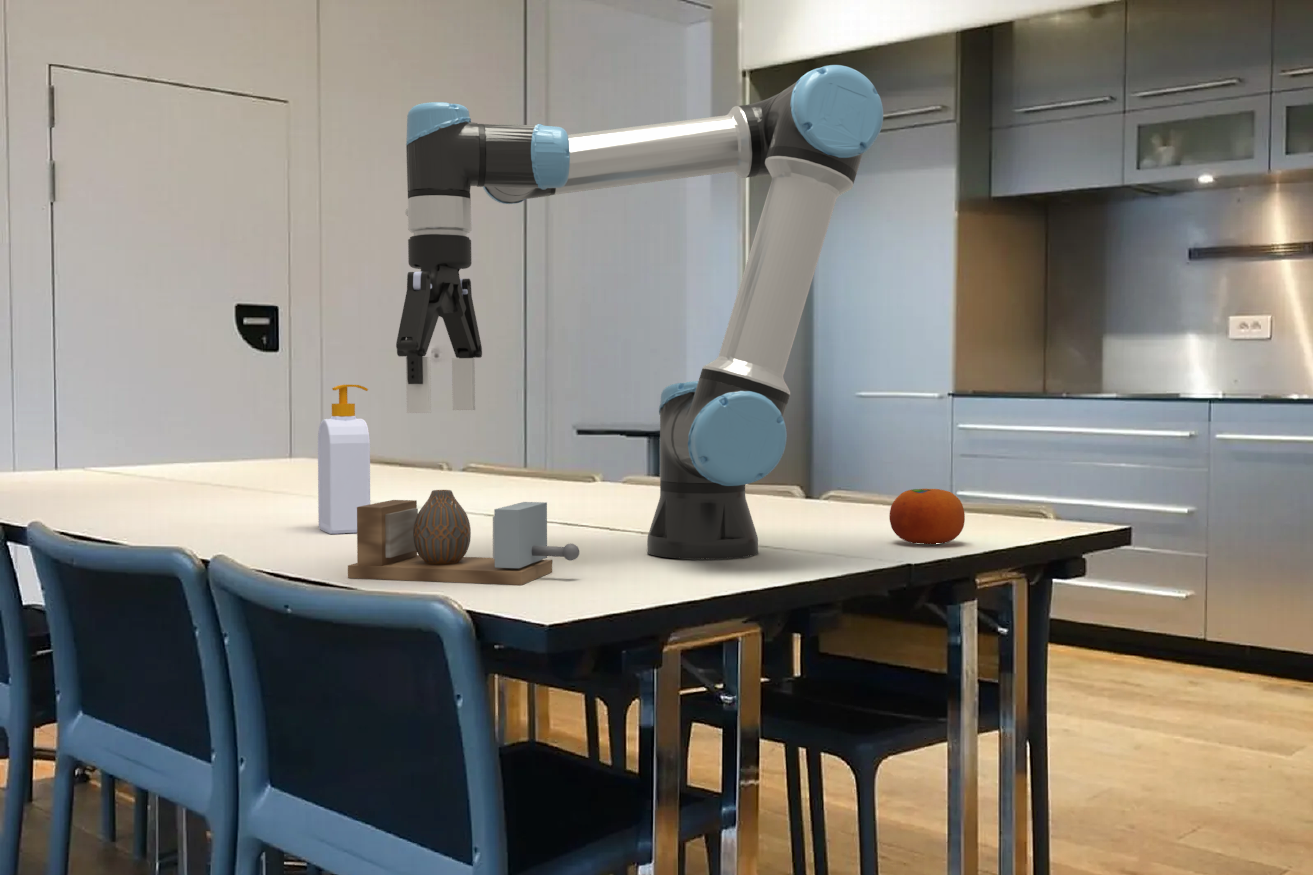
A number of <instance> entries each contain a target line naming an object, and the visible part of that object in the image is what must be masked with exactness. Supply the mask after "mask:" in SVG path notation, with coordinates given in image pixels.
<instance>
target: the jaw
mask: <svg viewBox="0 0 1313 875" xmlns="http://www.w3.org/2000/svg"><path fill="white" fill-rule="evenodd" d="M493 512H494V515H492V558H493V559H495V568H521V567H524V566H526V565H529V564H532V563H534V562H537V561H539V560H546V558H548V557H554V558H555V557H557V558H560V557H561V558H564V559H566V560H567V561H575V560H577V559H578V557H579V555H580V549H579V547H578V545H577V544H575V543H568V544H566V545H564V546H557V545H555V546H554V545H553V546H552V545H548V502H547V501H546V502H543V501H542V502H541V501H538V502H537V501H522V502H518V503H514V504H510V505H507V506H502V507H499V508H494V510H493Z"/></svg>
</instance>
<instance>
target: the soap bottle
mask: <svg viewBox="0 0 1313 875" xmlns="http://www.w3.org/2000/svg"><path fill="white" fill-rule="evenodd" d="M348 388H358V389H360V390H364V391H365V392H368V390H369V388H367V387H365V386H362V385H360V384H339V385H336V386H334V387H332V388H331V389H332V391H338V403H331V416H330V418H325V419H322V420H321V421H320V423H319V427H318V434H317V435H318V436H317V480H318V481H317V482H318V483H317V484H318V485H317V486H318V488H317V489H318V490H317V494H318V501H317V502H318V503H317V504H318V506H317V507H318V529H319V530H320V529H321V531H323V532H325V533H327V534H329V535H345V533H350V534H357V507H359V506H364V505H370V504H371V440H370V439H371V438H370V433H369V432H370V431H369V426H368V424H367V421H366V420H364V418H357V416H356V403H348Z"/></svg>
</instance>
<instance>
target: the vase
mask: <svg viewBox="0 0 1313 875" xmlns="http://www.w3.org/2000/svg"><path fill="white" fill-rule="evenodd" d="M471 534H472V532H471V522H470V520H469V517H468V514H467V513H466V510H464V508H463V507H462V505H461V504H460V503H459V502H458V500H457V498H456V497H455V496H454V493H453V491H452V490H451V489H434V490H433V489H432V490H431V492H430V494H429V496H428V499H427V500H426V502H425V503H424V505H422V507H421V508H420V510H418V514H417V517H416V519H415V523H414V528H413V538H414V544H415V548H416V551H417V555H419V556H420V557H421V558H422V559H423V560H424V561H425V562H426V563H429V564H453V563H457V562H459V561H460V560H461V559H462V558H463V557H465V556H466V554H467V553H468V550H469V548H470V544H471V538H472V537H471V536H472V535H471Z"/></svg>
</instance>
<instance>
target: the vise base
mask: <svg viewBox="0 0 1313 875" xmlns="http://www.w3.org/2000/svg"><path fill="white" fill-rule="evenodd" d="M417 502H418V501H417V499H416V500H415V499H414V500H413V499H411V500H408V499H406V500H405V499H391V500H386V501H381V502H375V503H370V505H364V506H359V507H357V533H356V537H357V538H356V539H357V540H356V545H357V546H356V548H357V550H356V553H357V556H356V559H357V562H355V563H352V564H349V565H347V579H360V580H361V579H362V580H363V579H364V580H391V581H415V582H437V583H463V584H486V585H488V584H490V585H491V584H492V585H509V586H510V585H512V586H513V585H514V586H516V585H517V586H523V585H525V584H527V583H528V584H529V583H530V582H532V581H534V580H537V579H539V578H542V577H545V576H546V575H549V574H551V573H553V559H542V560H539V561H537V562H534V563H532V564H529V565H526V566H524V567H521V568H495V559H493V557H480V556H479V557H477V556H475V557H473V556H464V557H463V558H462V559H461V560H460V561H459V562H457V563H453V564H429V563H426V562H425V561H424V560H423V559H422V558H421V557H420V556H419V554H418V553H417V551H416V548H415V544H414V538H413V528H414V523H415V519H416V517H417V514H418V513H419V508H418V504H417Z"/></svg>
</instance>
